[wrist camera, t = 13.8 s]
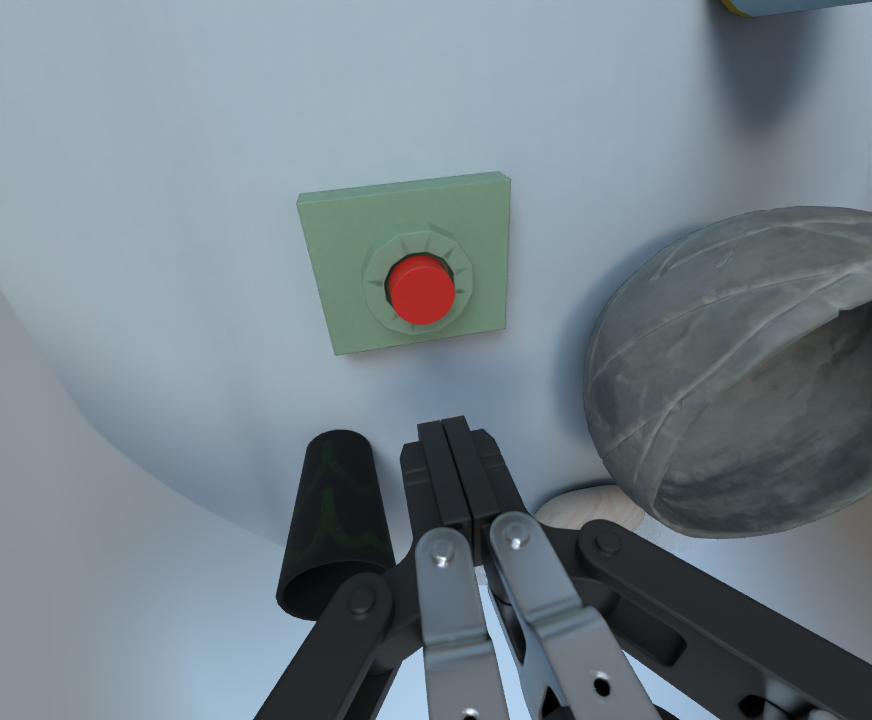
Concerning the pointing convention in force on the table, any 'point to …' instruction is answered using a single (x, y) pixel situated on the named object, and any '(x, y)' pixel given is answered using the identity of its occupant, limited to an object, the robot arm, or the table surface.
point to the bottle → (781, 6)
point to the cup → (333, 524)
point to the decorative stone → (591, 508)
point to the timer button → (421, 290)
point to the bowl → (740, 374)
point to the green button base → (408, 255)
